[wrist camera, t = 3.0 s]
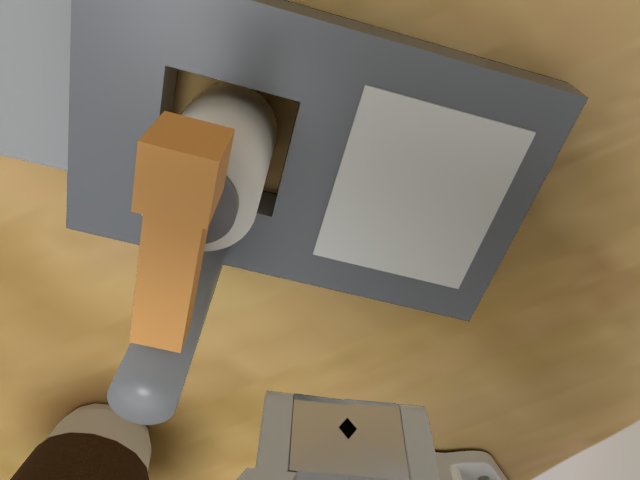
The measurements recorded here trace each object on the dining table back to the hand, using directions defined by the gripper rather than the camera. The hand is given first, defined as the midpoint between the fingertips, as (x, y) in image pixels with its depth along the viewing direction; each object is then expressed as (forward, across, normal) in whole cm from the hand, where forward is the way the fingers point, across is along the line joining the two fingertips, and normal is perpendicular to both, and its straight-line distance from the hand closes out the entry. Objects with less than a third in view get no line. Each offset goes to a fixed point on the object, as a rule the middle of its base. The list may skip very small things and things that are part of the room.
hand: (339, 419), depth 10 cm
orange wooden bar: (+9, +5, +2) cm, 11 cm away
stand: (+19, +1, +2) cm, 19 cm away
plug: (+19, +5, +2) cm, 20 cm away
